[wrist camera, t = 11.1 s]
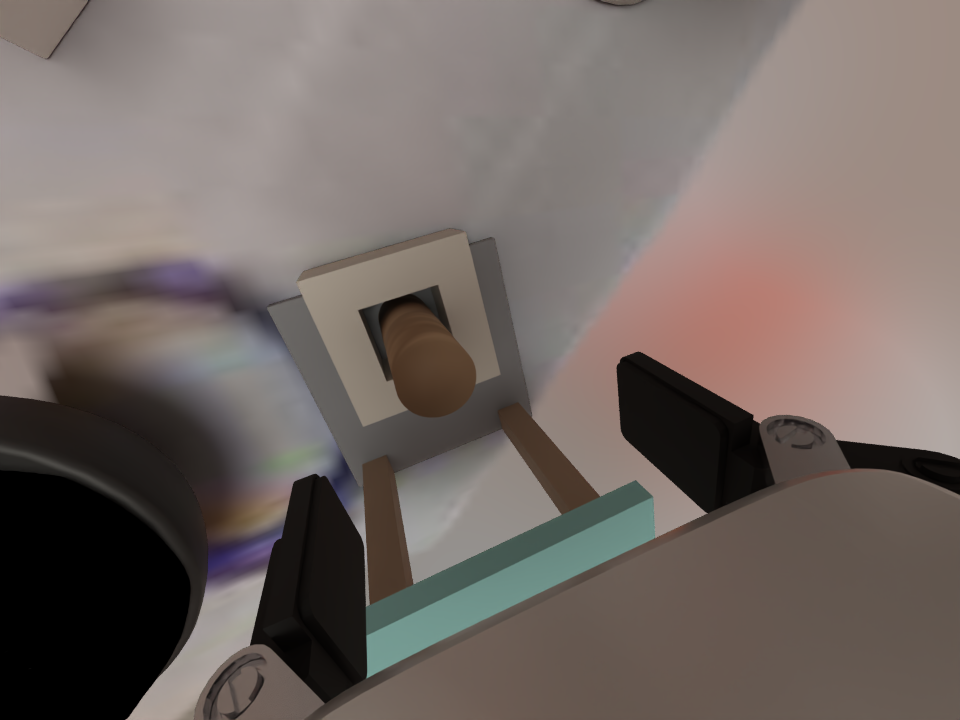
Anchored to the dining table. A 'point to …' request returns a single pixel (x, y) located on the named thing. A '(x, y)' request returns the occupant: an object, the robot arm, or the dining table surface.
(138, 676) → the coal bowl
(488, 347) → the socket station
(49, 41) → the milk
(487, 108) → the dining table surface
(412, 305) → the peg
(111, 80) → the dining table surface
